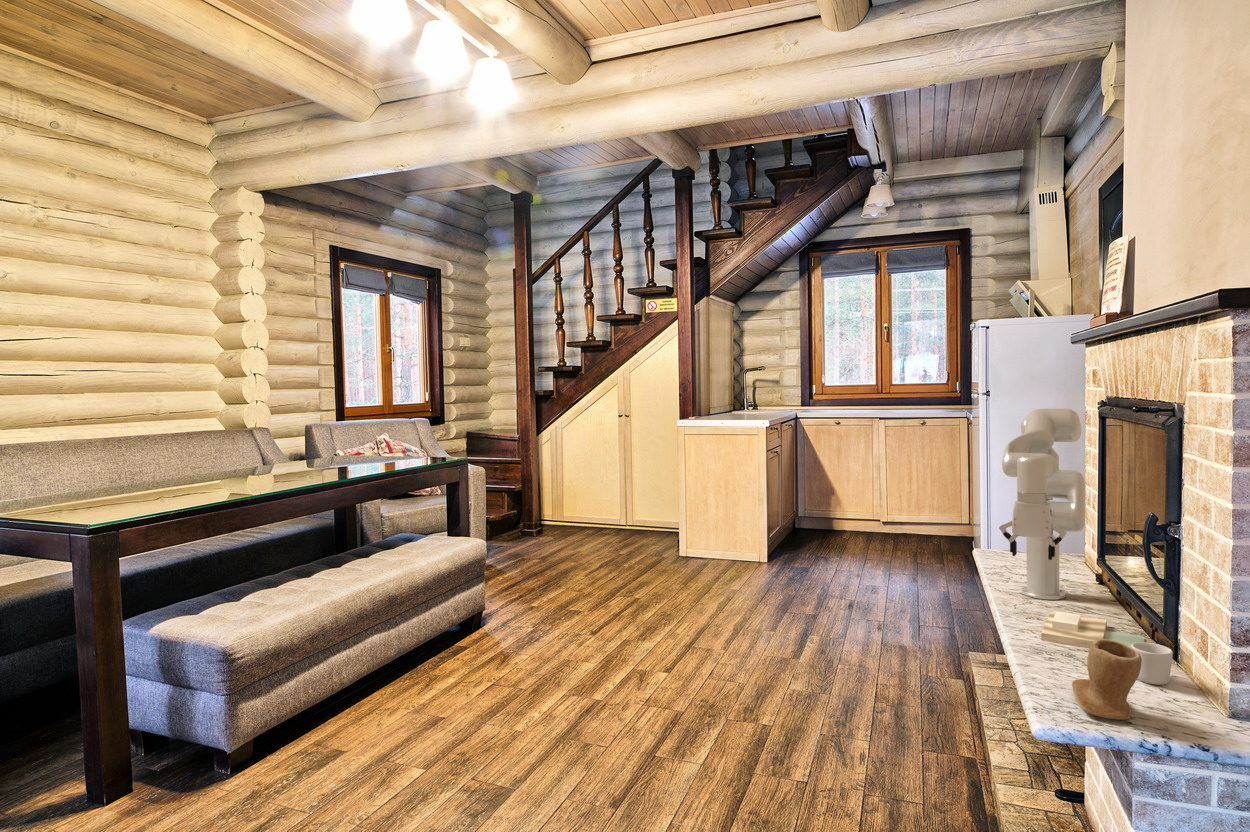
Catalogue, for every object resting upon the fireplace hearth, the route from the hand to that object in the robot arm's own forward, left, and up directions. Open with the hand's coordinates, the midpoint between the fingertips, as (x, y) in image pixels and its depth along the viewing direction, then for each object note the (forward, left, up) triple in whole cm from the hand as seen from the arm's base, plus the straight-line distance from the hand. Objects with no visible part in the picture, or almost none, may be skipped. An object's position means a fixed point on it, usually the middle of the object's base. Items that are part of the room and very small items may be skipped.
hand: (1032, 557), depth 207 cm
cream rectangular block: (0, +8, -19) cm, 20 cm away
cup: (+26, +28, -21) cm, 44 cm away
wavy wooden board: (0, +10, -21) cm, 23 cm away
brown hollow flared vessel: (+50, +20, -21) cm, 58 cm away
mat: (+4, +22, -21) cm, 30 cm away
